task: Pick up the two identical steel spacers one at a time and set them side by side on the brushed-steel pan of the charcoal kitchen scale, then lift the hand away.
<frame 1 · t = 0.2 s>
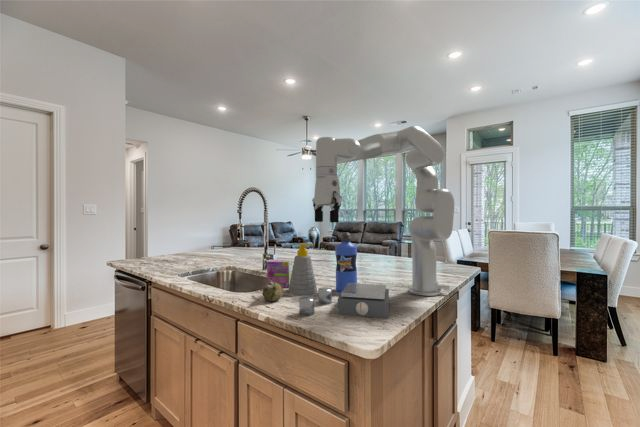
hand: (326, 222, 101), 30 cm above the worktop, tool pointing down, fingers open, 9 cm apart
spacer b: (306, 313, 95), on the worktop
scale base: (364, 308, 100), on the worktop
box: (280, 286, 132), on the worktop
onion: (273, 300, 110), on the worktop
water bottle: (346, 291, 123), on the worktop
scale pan: (364, 290, 100), point 6 cm above the worktop, slide at -0.4 cm
spacer a: (325, 302, 107), on the worktop
soap bottle: (302, 291, 123), on the worktop
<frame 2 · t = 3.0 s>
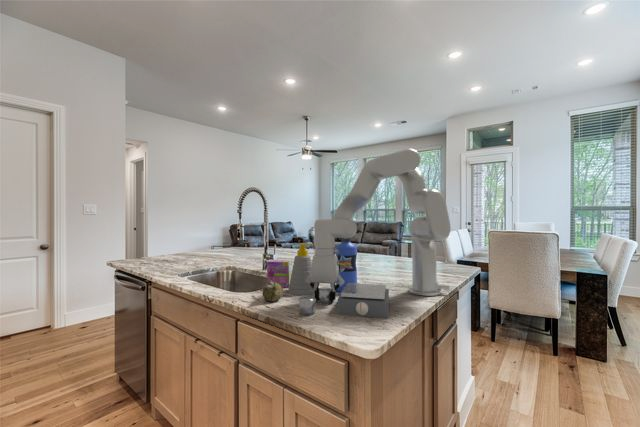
hand: (325, 300, 107), 1 cm above the worktop, tool pointing down, fingers closed on spacer a, 5 cm apart
spacer a: (325, 302, 107), on the worktop, touching gripper
everything else where it was.
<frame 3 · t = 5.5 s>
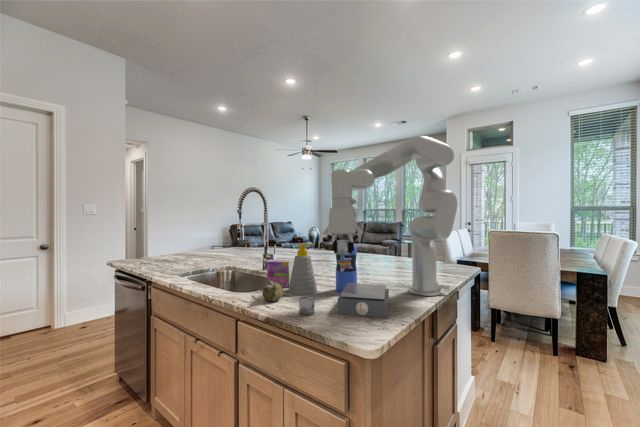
hand: (343, 252, 106), 19 cm above the worktop, tool pointing down, fingers closed on spacer a, 5 cm apart
spacer a: (343, 254, 106), point 18 cm above the worktop, touching gripper
everything else where it was.
when the fingers open (9 cm above the worktop, at t = 8.3 s): spacer a drops 2 cm, resting on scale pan.
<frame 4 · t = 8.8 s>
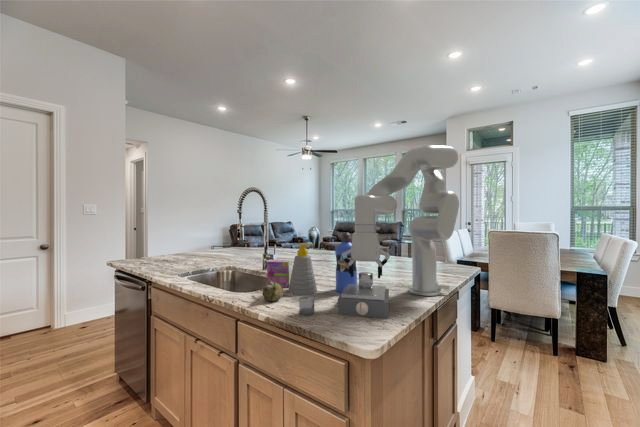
hand: (365, 276, 104), 10 cm above the worktop, tool pointing down, fingers open, 9 cm apart
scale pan: (364, 291, 100), point 6 cm above the worktop, slide at -0.8 cm, touching spacer a
spacer a: (365, 287, 104), point 6 cm above the worktop, touching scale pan
everything else where it was.
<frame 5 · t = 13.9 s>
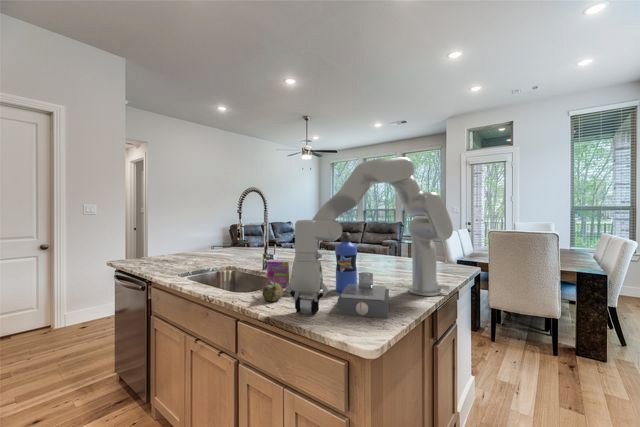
hand: (306, 311, 95), 1 cm above the worktop, tool pointing down, fingers closed on spacer b, 5 cm apart
spacer b: (306, 313, 95), on the worktop, touching gripper
everything else where it was.
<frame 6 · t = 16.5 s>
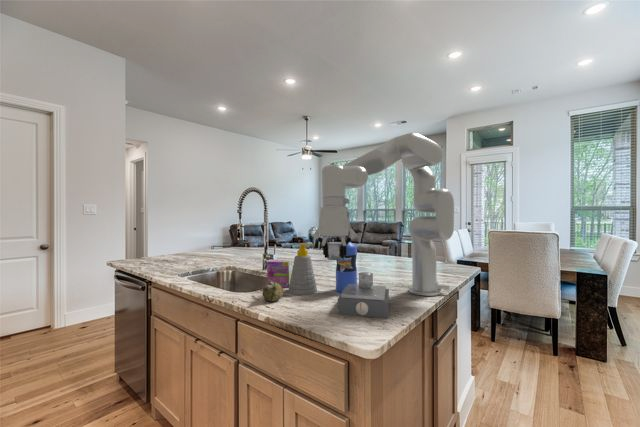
hand: (334, 256, 96), 19 cm above the worktop, tool pointing down, fingers closed on spacer b, 5 cm apart
spacer b: (334, 258, 96), point 18 cm above the worktop, touching gripper
everything else where it was.
when the fingers open (9 cm above the worktop, at t = 19.4 s): spacer b drops 2 cm, resting on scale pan.
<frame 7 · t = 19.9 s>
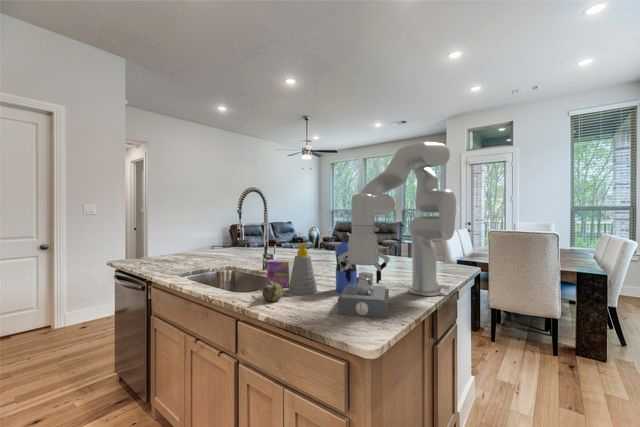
hand: (363, 281, 96), 10 cm above the worktop, tool pointing down, fingers open, 9 cm apart
spacer b: (363, 293, 96), point 6 cm above the worktop, touching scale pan
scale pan: (364, 291, 100), point 6 cm above the worktop, slide at -0.9 cm, touching spacer a, spacer b
everything else where it was.
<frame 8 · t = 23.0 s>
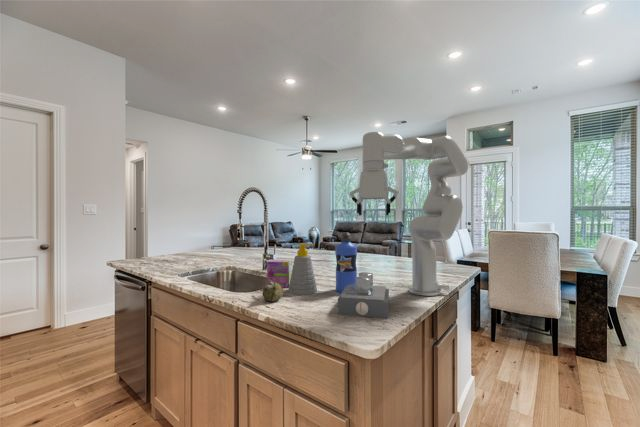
hand: (373, 215, 103), 32 cm above the worktop, tool pointing down, fingers open, 9 cm apart
nothing on the worktop moved.
at the end: spacer a inside the target area on the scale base (3.5 cm from its centre), point 6.2 cm above the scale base's base; spacer b inside the target area on the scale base (4.0 cm from its centre), point 6.3 cm above the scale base's base; the gripper is holding nothing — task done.
